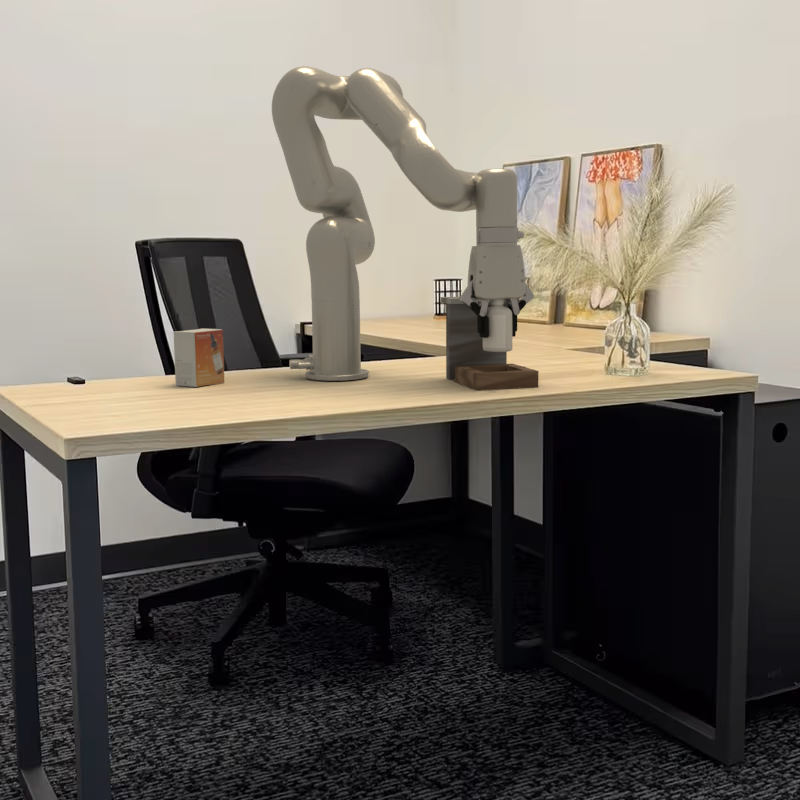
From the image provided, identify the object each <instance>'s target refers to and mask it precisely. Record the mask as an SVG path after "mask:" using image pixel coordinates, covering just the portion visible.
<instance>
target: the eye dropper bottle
mask: <svg viewBox="0 0 800 800" xmlns="http://www.w3.org/2000/svg"><path fill="white" fill-rule="evenodd" d="M503 304H504V299H499V300H491V305H492V306H491V307H488V308H487V311H486V316H488V317H489V337H488V338H483V350H484V351H490V352H510V351H513V337H512V311H511V310H510V309H509V308H507V307H504V306H503Z"/></svg>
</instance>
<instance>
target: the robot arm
mask: <svg viewBox="0 0 800 800" xmlns="http://www.w3.org/2000/svg"><path fill="white" fill-rule="evenodd" d="M271 116H272V122H273V126H274V129H275V133H276V135H277V137H278V140H279V144H280V146H281V149H282V152H283V156H284V159H285V163H286V167H287V169H288V172H289V177H290V178H291V183H292V185H293V189H294V192H295V195H296V198H297V201H298V203H299V204H300V206H301V207H302V208H303V209H304V210H305V211H308V212H310V213H316V214H322V217H323V218H321V219H319V220H317V221H316V222H315V223H314V224H312V225H311V227H310V228H309V230H308V232H307V236H306V238H305V239H306V240H305V247H306V248H305V252H306V255H307V256H306V257H307V262H308V267H309V274H310V275H309V277H310V293H311V295H310V297H311V323H312V324H311V326H312V328H311V329H312V330H311V332H312V335H311V336H312V354H311V353H310V354H308V355H309V357H305V358H304V359H298V358H297V359H289V369H290V370H306V371H305V378H306V379H308V380H312V381H327V382H328V381H329V382H330V381H331V382H337V381H338V382H339V381H341V382H342V381H344V382H345V381H355V380H357V381H358V380H362V379H366V378H368V377H369V370H367V369H364V368H362V365H361V364H362V361H361V359H362V358H361V354H362V353H361V308H360V307H361V306H360V304H361V301H360V300H361V298H360V282H359V275H358V271H357V266H356V265H360V264H363V263H364V262H366V261H367V260H368V259H369V258H370V257H371V256H372V254H373V253H374V250H375V243H376V239H375V237H376V236H375V232H374V228H373V224H372V223H371V219H370V216H369V212H368V209H367V206H366V204H365V203H366V202H365V200H364V197H363V194H362V191H361V187H360V186H359V183H358V181H357V179H356V178H355V177H354V176H353V175H352V174H351V172H350V171H348V170H346V169H345V168H343V167H340V166H336V165H334V163H333V161H332V159H331V155H330V153H329V150H328V146H327V143H326V140H325V138H324V135H323V133H322V131H321V129H320V127H319V125H318V124H317V121H316V119H315V116H316V117H319V118H322V119H328V120H329V119H330V120H354V121H355V120H356V121H357V120H358V121H363V123H364V124H365V125H366V126H367V127H368V128H369V130H371V131H372V133H373V134H374V135H375V136H376V137H377V138H378V139H379V141H380V142H381V143H382V144H383V145H384V146H385V147H386V148H387V149H388V151H389V152H390V154H391V155H392V158H393V159H394V161H395V162H396V163H397V166H398V167H399V168H400V170H401V172H402V173H403V174H404V175H405V177H406V178H407V179H408V181H409V182H410V183H411V184H412V185H413V186H414V188H416V190H417V191H418V192H419V193H420V194H421V195H422V197H424V199H426V201H428V202H429V203H430V204H431V205H432V206H434V207H435V208H436V209H439V210H442V211H446V212H447V211H451V212H456V213H461V212H462V213H463V212H471V211H475V223H476V224H475V225H476V226H475V228H476V229H475V230H476V232H475V234H476V235H475V237H476V239H475V240H476V245H475V246H474V245H472V246H471V250H470V255H469V261H468V271H467V273H468V274H467V286H466V288H465V289H464V290H463V292H462V293H461V295H460V296H459V297H460V300H461V301H462V302H463V303H464V304H466V305H467V306H468V307H469V308H470V309H471V310H472V311H473V312H474V313H475V315H477V331H478V333H479V336H480V337H483V338H488V337H489V317H488V316H486V311H487V307H488V303H489V300H499V299H505V301H506V305H507V308H509V309H510V310H511V311H512V338H513V337H516V335H517V334H516V332H518V316H519V314H520V313H521V311H522V310H523V309H524V308H525V307H526V305H527V304H528V303H529V302H531V301H532V300H533V299H534V298H535V294H534V293H533V292H532V291H531V289H530V287H529V286H528V284H527V283H526V274H525V263H524V262H525V261H524V256H523V252H522V247H521V244H519V245H518V242H519V240H520V239H524V237H525V232H524V231H523V230H519V228H518V176H517V174H516V173H517V172H515V171H514V170H513V169H510V168H487V169H482V170H480V171H478V172H473V171H465V170H460V169H457V168H454V166H452V165H451V163H450V162H449V161H448V159H446V158H445V156H443V155H442V153H440V151H439V150H438V149H437V148H436V147H435V145H434V144H433V142H432V141H431V140H430V138H429V136H428V133H427V124H426V122H425V121H426V120H424V118H423V117H422V116H421V115H420V114H419V113H418V112H417V110H415V108H414V107H413V106H412V105H411V104H410V103H409V102H408V101H407V100H406V99H405V98H404V94H403V90H402V87H401V85H400V84H399V82H398V81H397V80H396V79H395V78H394V77H392V76H390V75H389V74H386V73H384V72H382V71H380V70H377V69H375V68H371V67H364V68H359V69H357V70H354V72H352V73H351V74H350V75H335V74H332V73H329V72H326V71H325V70H322V69H319V68H317V67H312V66H304V65H302V66H296V67H294V68H292V69H290V70H288V71H287V72H286V73H285V74H284V75H283V76H282V77H281V78H280V80H279V81H278V83H277V84H276V86H275V90H274V92H273V95H272V101H271ZM471 298H473V299H478V300H477V303H476V302H474V301H473V300H472V299H471ZM517 298H519V300H518V301H517Z"/></svg>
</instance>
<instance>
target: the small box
mask: <svg viewBox="0 0 800 800" xmlns="http://www.w3.org/2000/svg"><path fill="white" fill-rule="evenodd" d="M173 349H174V350H173V351H174V375H175V386H177V387H178V386H179V387H191V388H198V387H204V386H210V385H212V386H213V385H218V384H219V385H220V384H224V383H225V359H224V357H225V356H224V355H225V354H224V330H223V329H219V328H202V327H201V328H197V329H188V330H180V331H179V330H178V331H177V330H176V331H173Z"/></svg>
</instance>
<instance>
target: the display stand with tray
mask: <svg viewBox="0 0 800 800" xmlns="http://www.w3.org/2000/svg"><path fill="white" fill-rule="evenodd" d="M471 299H472V300H473V301H474V302H476V303H477V300H478V299H473V298H471ZM518 300H520V298H517V301H518ZM440 303H442V304H445V351H446V353H445V359H446V360H445V362H446V364H445V365H446V367H445V373H446V374H445V375H446V376H445V379H447V380H451V381H452V380H454V383H457V384H460V385H462V386H465V387H468V388H470V389H472V388H473V390H475V391H490V390H491V391H493V390H494V389H495V390H509V389H511V390H512V389H525V388H527V389H529V388H539V371H540V370H536V369H533V368H529V367H527V366H523V365H519V364H516V363H507V362H508V361H507V356H508V355H507V354H508V353H507V352H490V351H484V350H483V337H480V336H479V333H478V331H477V315H475V313H474V312H473V311H472V310H471V309H470V308H469V307H468V306H467V305H466V304H464V303H463V302H462V301H461V300H460V296H441V297H440ZM491 306H492V305H491V300H489V303H488V307H491ZM503 306H504V307H507V305H506V301H505V299H504V304H503ZM488 307H487V308H488Z"/></svg>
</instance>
